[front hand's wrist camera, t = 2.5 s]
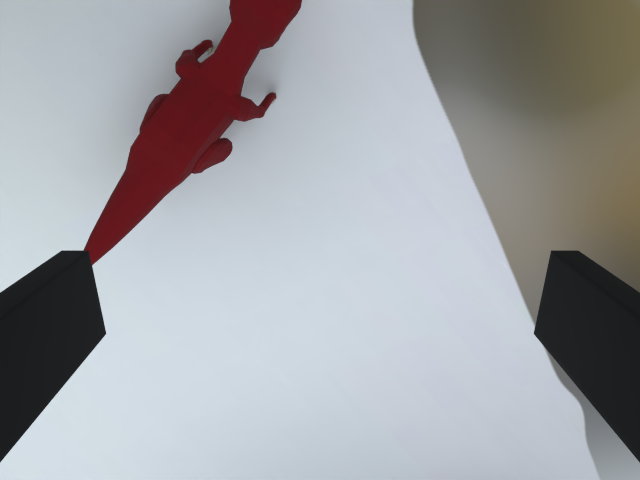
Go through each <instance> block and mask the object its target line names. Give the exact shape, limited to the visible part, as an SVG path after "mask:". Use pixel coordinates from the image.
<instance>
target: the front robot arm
mask: <svg viewBox="0 0 640 480" xmlns="http://www.w3.org/2000/svg"><path fill="white" fill-rule="evenodd" d="M105 335H106V331H105V326H104V321H103V316H102V312H101V307H100V302H99V297H98V292H97V288H96V283H95V278H94V273H93V268H92V264H91V259H90V254H89V251H61V252H59V253H58V254H56V255H55V256H53V257H52V258H50V259H49V260H47V261H46V262H45V263H43V264H42V265H40V266H39V267H37V268H36V269H34V270H33V271H31V272H30V273H28V274H27V275H26V276H24V277H23V278H21V279H20V280H18V281H17V282H15V283H14V284H12V285H11V286H9V287H8V288H7V289H5V290H4V291H2V292H1V293H0V462H1V461H2V460H3V458H4V457H5V456H6V455H7V453H8V452H9V451H10V450H11V449H12V447H13V446H14V445H15V444H16V443H17V441H18V440H19V439H20V438H21V436H22V435H23V434H24V433H25V432H26V430H27V429H28V428H29V427H30V426H31V424H32V423H33V422H34V421H35V419H36V418H37V417H38V416H39V415H40V413H41V412H42V411H43V410H44V409H45V407H46V406H47V405H48V404H49V402H50V401H51V400H52V399H53V398H54V396H55V395H56V394H57V393H58V392H59V390H60V389H61V388H62V387H63V385H64V384H65V383H66V382H67V381H68V379H69V378H70V377H71V376H72V375H73V373H74V372H75V371H76V370H77V369H78V367H79V366H80V365H81V364H82V362H83V361H84V360H85V359H86V358H87V356H88V355H89V354H90V353H91V352H92V350H93V349H94V348H95V347H96V345H97V344H98V343H99V342H100V341H101V339H102V338H103V337H104V336H105ZM534 335H535V336H536V337H537V338H538V339H539V341H540V342H541V343H542V344H543V345H544V347H545V348H546V349H547V350H548V351H549V353H550V354H551V355H552V356H553V358H554V359H555V360H556V361H557V362H558V364H559V365H560V366H561V367H562V368H563V370H564V371H565V372H566V373H567V375H568V376H569V377H570V378H571V379H572V381H573V382H574V383H575V384H576V385H577V387H578V388H579V389H580V390H581V392H582V393H583V394H584V395H585V396H586V398H587V399H588V400H589V401H590V402H591V404H592V405H593V406H594V407H595V408H596V410H597V411H598V412H599V413H600V415H601V416H602V417H603V418H604V419H605V421H606V422H607V423H608V424H609V426H610V427H611V428H612V429H613V430H614V432H615V433H616V434H617V435H618V436H619V438H620V439H621V440H622V441H623V442H624V444H625V445H626V446H627V447H628V449H629V450H630V451H631V452H632V453H633V455H634V456H635V457H636V458H637V460H638V461H639V462H640V293H639V292H638V291H636V290H635V289H633V288H632V287H631V286H629V285H628V284H626V283H625V282H623V281H622V280H620V279H619V278H617V277H616V276H614V275H613V274H612V273H610V272H609V271H607V270H606V269H604V268H603V267H601V266H600V265H598V264H597V263H595V262H594V261H593V260H591V259H590V258H588V257H587V256H585V255H584V254H582V253H581V252H579V251H551V254H550V259H549V264H548V268H547V273H546V278H545V283H544V288H543V292H542V297H541V302H540V307H539V312H538V316H537V321H536V326H535V331H534Z"/></svg>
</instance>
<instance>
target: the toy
mask: <svg viewBox="0 0 640 480" xmlns="http://www.w3.org/2000/svg"><path fill="white" fill-rule="evenodd" d="M301 2H302V0H230V6H229V9H230V15H231V21H232V22H231V24H230V25H229V27H228V29H227V31H226V33H225V34H224V36H223V38H222V40H221V42H220V43H219V45H218V47H217V49H216V50H215V52H214V54H212V55H211V56H210V57H208V58H207V59H206V60H204V61H203V62H202V63H199V62H198V60H197V59H198V58H199V57H200V56H201V55H202V54H204V53H205V52H206V51H207V50H208V51H209V52H208V51H207V52H208V55H209V54H210V53H211V52H212V50H213V44H212V41H211V40H204V41H202V42H201V43H200V44H199V45H197V46H196V47H195V48H193V49H192V50H185V51H183V52H182V55H181V56H180V58H179V59H178V61H177V62H176V73H177V74H178V75H179V76H180V78H181V79H180V81H179V82H178V83H177V84H176V86H175V87H174V88H173V90H172V91H171V92H170V93H169V94H160V95H158V96H156V97H155V98H154V99H153V101H152V102H151V104H150V105H149V107H148V110H147V112H146V114H145V117H144V119H143V121H142V124H141V126H140V134H139V135H138V137H137V138H136V140H135V141H134V143H133V145H132V146H131V149H130V153H129V157H128V162H127V166H126V170H125V172H124V174H123V175H122V177H121V179H120V181H119V182H118V184H117V186H116V188H115V189H114V191H113V193H112V194H111V196H110V198H109V200H108V202H107V204H106V206H105V208H104V210H103V212H102V214H101V215H100V217H99V219H98V221H97V223H96V225H95V227H94V229H93V231H92V233H91V235H90V237H89V239H88V242H87V244H86V246H85V248H84V251H89V254H90V259H91V264H92V265H93V264H94V263H95V262H97V261H98V260H99V259H100V258H101V257H102V256H104V255H105V254H106V253H107V252H108V251H109V250H111V249H112V248H113V247H114V246H115V245H116V244H117V243H118V242H119V241H120V240H121V239H123V238H124V237H125V236H126V235H127V234H128V233H129V232H130V231H131V230H132V229H133V228H134V227H135V226H136V225H137V224H138V223H139V222H140V221H141V220H142V219H143V218H144V217H145V216H146V215H147V214H148V213H149V212H150V211H151V210H152V209H153V208H154V207H155V206H156V205H157V204H158V203H159V202H160V201H161V200H162V199H163V198H164V197H165V196H166V195H167V194H168V193H169V192H170V191H172V190H173V189H174V188H175V187H177V186H178V185H179V184H180V183H182V182H183V181H184V180H185V179H186V178H187V177H188V176H189V175H190V174H191V173H194V174H196V173H201V172H203V171H204V170H205V169H207V168H209V167H211V166H213V165H215V164H218V163H220V162H222V161H224V160H225V159H226V158H227V157H228V156H229V155H230V153H231V151H232V147H233V146H232V142H231V141H230V140H228V139H227V138H220V137H221V136H222V134H223V133H224V132H225V131H226V129H227V128H228V127H229V126H230V125H231V123H232V122H233V121H234V119H235V120H239V121H244V122H245V121H248V120H251V119H254V118H261V117H263V116H264V114H265V112H266V110H267V109H268V107H269V106H270V104H272V103H273V102H274V101H275V99H276V93H269V94H268V95H267V96H266V97H265V99H264V100H263V101H262V103H261V104H260V105H259V106H256V105H255V103H254V102H253V101H252V100H250V99H248V98H245V97H242V96H241V91H242V87H243V82H244V78H245V76H246V74H247V72H248V70H249V69H250V67H251V65H252V64H253V62H254V60H255V58H256V57H257V55H258V53H259V51H260V50H261V49H265V48H269V47H273V45H274V44H275V43H276V42H277V41H278V40H279V38H280V36H281V34H282V33H283V32H284V30H285V28H286V27H287V26H288V24H289V23H290V22H291V21H292V19H293V18H294V17H295V16H296V15H297V13H298V11H299V9H300V8H301ZM219 138H220V139H219Z"/></svg>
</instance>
